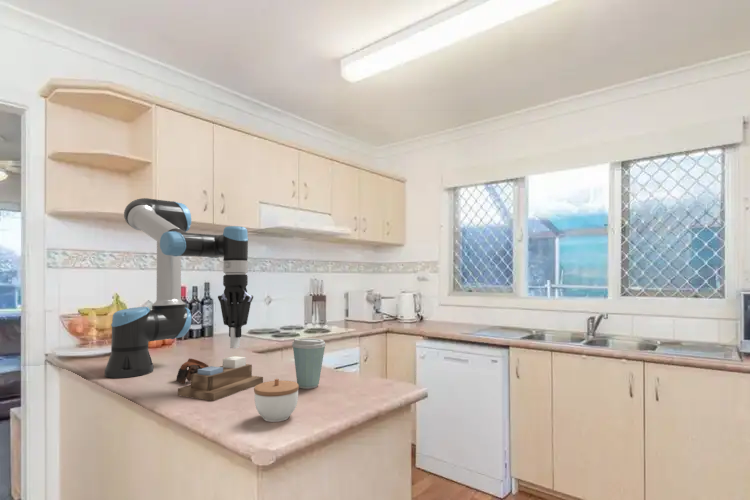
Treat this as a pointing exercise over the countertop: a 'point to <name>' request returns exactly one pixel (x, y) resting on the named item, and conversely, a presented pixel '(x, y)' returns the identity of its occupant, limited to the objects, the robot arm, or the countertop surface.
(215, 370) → the light blue block
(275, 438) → the countertop surface
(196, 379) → the wooden stepped stand
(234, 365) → the white block
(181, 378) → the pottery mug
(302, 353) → the disposable coffee cup
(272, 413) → the lidded jar
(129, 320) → the robot arm
